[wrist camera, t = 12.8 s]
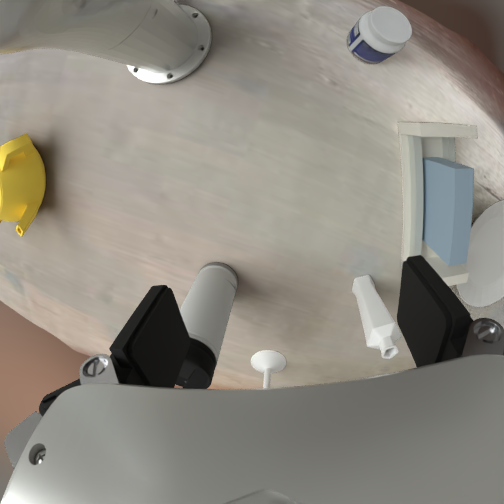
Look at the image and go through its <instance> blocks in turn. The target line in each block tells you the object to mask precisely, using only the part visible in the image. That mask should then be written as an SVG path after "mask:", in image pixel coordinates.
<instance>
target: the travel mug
mask: <svg viewBox="0 0 504 504" xmlns="http://www.w3.org/2000/svg"><path fill="white" fill-rule="evenodd" d="M237 286H238V279H237V276H236V274H235V272H234V271H233V270H232V269H231V268H230V267H229V266H227V265H225V264H222V263H216V262H214V263H209V264H207V265H205V266H204V267H203V268H202V269H201V270H200V272H199V274H198V276H197V277H196V279H195V281H194V283H193V285H192V287H191V289H190V291H189V293H188V295H187V297H186V299H185V301H184V302H183V304H182V306H181V308H180V313H181V316H182V318H183V321H184V324H185V326H186V329H187V331H188V334H189V336H190V346H189V349H188V352H187V354H186V357H185V359H184V362H183V365H182V367H181V370H180V373H179V375H178V378H177V381H176V383H175V384H176V385H179V386H182V387H183V388H186V389H207V388H208V387H209V386H210V385H211V382H212V378H213V374H214V370H215V367H216V365H217V361H218V357H219V354H220V350H221V346H222V342H223V338H224V335H225V331H226V327H227V323H228V320H229V316H230V312H231V308H232V305H233V301H234V297H235V293H236V290H237Z"/></svg>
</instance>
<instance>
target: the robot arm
mask: <svg viewBox="0 0 504 504" xmlns="http://www.w3.org/2000/svg"><path fill="white" fill-rule="evenodd" d="M196 16H198V17H196ZM195 17H196V18H195ZM211 39H212V34H211V28H210V25H209V23H208V21H207V19H206V18H205V17H204V16H203V14H202V13H201V12H199V11H198V10H197V9H195V8H193V7H190V6H187V5H182V4H176V3H175V2H174V1H173V0H0V55H2V54H8V53H15V52H20V51H26V50H33V49H62V50H68V51H74V52H79V53H83V54H87V55H91V56H96V57H100V58H104V59H107V60H111V61H115V62H119V63H122V64H126V65H127V67H128V69H129V71H130V72H131V73H132V74H133V75H134V76H135V77H136V78H138V79H139V80H142V81H144V82H147V83H151V84H168V83H172V82H176V81H178V80H180V79H182V78H184V77H186V76H187V75H189V74H190V73H192V72H193V71H194V70H195V69H196V68H197V67H198V66H199V65H200V64H201V63H202V61H203V60H204V59H205V57H206V55H207V53H208V51H209V48H210V45H211ZM202 48H204V50H203V51H201V49H202ZM138 69H139V70H138ZM137 71H138V72H137ZM172 75H173V78H171V76H172ZM397 322H398V325H399V327H400V329H401V332H402V334H403V336H404V338H405V340H406V343H407V345H408V347H409V349H410V352H411V354H412V356H413V359H414V361H415V363H416V366H417V368H413V369H408V370H404V371H399V372H394V373H389V374H384V375H378V376H373V377H367V378H361V379H354V380H348V381H340V382H333V383H324V384H315V385H305V386H294V387H280V388H261V389H186V388H174V386H175V383H176V381H177V378H178V375H179V373H180V370H181V367H182V365H183V362H184V359H185V357H186V354H187V352H188V349H189V346H190V336H189V334H188V331H187V329H186V326H185V324H184V321H183V318H182V316H181V313H180V310H179V308H178V305H177V302H176V300H175V297H174V294H173V291H172V289H171V288H168V287H167V286H166V285H159V286H152V287H151V289H150V290H149V292H148V293H147V294H146V296H145V297H144V299H143V300H142V301H141V303H140V304H139V306H138V307H137V308H136V310H135V311H134V313H133V314H132V316H131V317H130V319H129V320H128V322H127V323H126V324H125V326H124V327H123V329H122V330H121V332H120V333H119V335H118V336H117V338H116V339H115V341H114V342H113V344H112V345H111V347H110V348H109V349H110V351H111V353H112V354H111V355H110V357H109V356H108V355H106V354H97V355H94V356H92V357H90V358H88V359H87V360H86V361H85V362H84V363H83V364H82V365H81V368H80V370H79V376H80V379H78V380H76V381H74V382H72V383H70V384H68V385H66V386H64V387H62V388H60V389H58V390H56V391H54V392H52V393H50V394H47V395H46V396H45V397H44V398H43V400H42V401H41V404H40V406H39V413H37V411H35V412H34V413H32V414H31V415H30V416H29V417H27V418H26V419H25V420H24V421H23V422H21V423H20V424H19V425H18V426H16V427H15V428H14V429H13V430H11V431H10V432H9V433H8V434H7V436H6V438H5V442H4V443H5V448H6V451H7V453H8V456H9V458H10V461H11V463H12V466H13V468H14V472H13V474H12V476H11V478H10V481H9V483H8V486H7V488H6V491H5V493H4V496H3V498H2V501H1V504H504V329H503V327H502V326H501V325H500V324H499V323H498V322H496V321H495V320H492V319H489V318H479V319H476V320H475V321H473V320H472V318H471V317H470V313H469V312H468V311H467V309H466V308H465V307H464V306H463V304H462V303H461V302H460V300H459V299H458V298H457V297H456V295H455V294H454V293H453V292H452V290H451V289H450V288H449V287H448V285H447V284H446V283H445V282H444V281H443V279H442V278H441V277H440V276H439V275H438V273H437V272H436V271H435V270H434V269H433V268H432V267H431V265H430V264H429V263H428V262H427V261H426V260H425V259H424V257H423V256H421V255H417V256H410V257H408V258H407V260H406V261H404V262H403V266H402V278H401V289H400V298H399V306H398V314H397Z"/></svg>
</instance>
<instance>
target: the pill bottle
mask: <svg viewBox="0 0 504 504" xmlns="http://www.w3.org/2000/svg"><path fill="white" fill-rule="evenodd" d="M411 34H412V28H411V25H410V22H409V21H408V19H407V18H406V17H405V16H404V15H403V14H402V13H401V12H400V11H398V10H396V9H394V8H392V7H388V6H380V7H377V8H375V9H374V10H373V11H369V12H367V13H365V14H364V15H363V16H362V17H361V18H360V19H359V20H358V22H357V23H356V24H355V26H354V27H353V28H352V30H351V31H350V32H349V34H348V36H347V46H348V49H349V51H350V52H351V54H352V55H353V56H354V57H355V58H356V59H358V60H359V61H361V62H364V63H367V64H377V63H380V62H382V61H383V60H385V59H387V58H388V57H390V56H392V55H393V54H395V53H397V52H398V51H400V50H401V49H402V48H403V47H404V45H405V43H406V41H408V40H409V39H410V37H411Z"/></svg>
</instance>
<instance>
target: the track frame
mask: <svg viewBox="0 0 504 504" xmlns="http://www.w3.org/2000/svg"><path fill="white" fill-rule="evenodd" d="M397 124H398V133H399V143H400V154H401V169H402V193H403V232H402V256H401V269H402V266H403V262H404V261H406V260H407V258H408V257H410V256H417V255H421V256H423V257H424V259H425V260H426V261H427V262H428V263H429V264H430V265H431V267H432V268H433V269H434V270H435V271H436V272H437V273H438V275H439V276H440V277H441V278H442V279H443V281H444V282H445V283H446V284H447V285H448V286H452V285H457V284H461V283H466V282H467V280H468V275H469V272H468V271H467V270H466V269H465V268H464V267H463V266H462V265H461V264H459V265H454V266H448V265H447V264H446V263H445V262H444V261H443V260H442V259H441V258H440V257H439V256H438V255H437V254H436V253H435V252H434V251H433V250H432V249H431V248H430V247H429V246H428V245H427V244H426V243H425V242H424V241H423V240H422V232H423V161H422V158H424V157H439V158H442V159H446V160H449V161H452V162H455V163H456V152H455V137H460V138H478V136H477V126H472V125H463V124H452V123H432V122H397Z"/></svg>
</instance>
